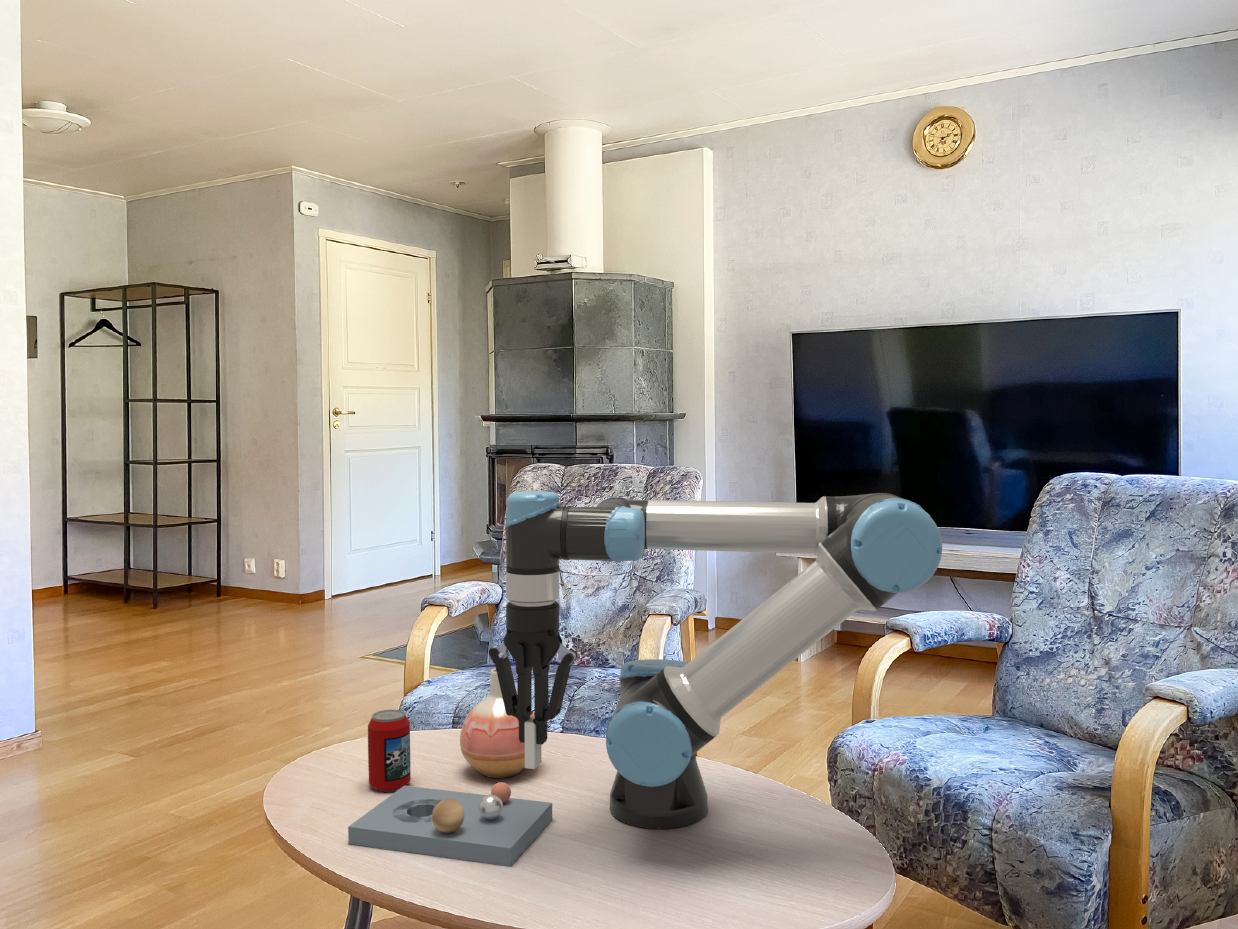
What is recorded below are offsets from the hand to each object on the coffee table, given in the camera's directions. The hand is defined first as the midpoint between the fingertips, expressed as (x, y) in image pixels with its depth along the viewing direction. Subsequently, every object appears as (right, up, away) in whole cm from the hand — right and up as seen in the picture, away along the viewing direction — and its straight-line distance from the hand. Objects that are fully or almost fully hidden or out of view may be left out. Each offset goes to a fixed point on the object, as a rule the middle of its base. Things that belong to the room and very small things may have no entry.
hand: (533, 765), depth 137 cm
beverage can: (-26, -11, +22) cm, 35 cm away
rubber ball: (-6, -7, +8) cm, 12 cm away
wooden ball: (-12, -7, -2) cm, 14 cm away
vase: (-8, -10, +28) cm, 31 cm away
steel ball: (-6, -7, +2) cm, 10 cm away
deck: (-12, -11, +4) cm, 17 cm away
